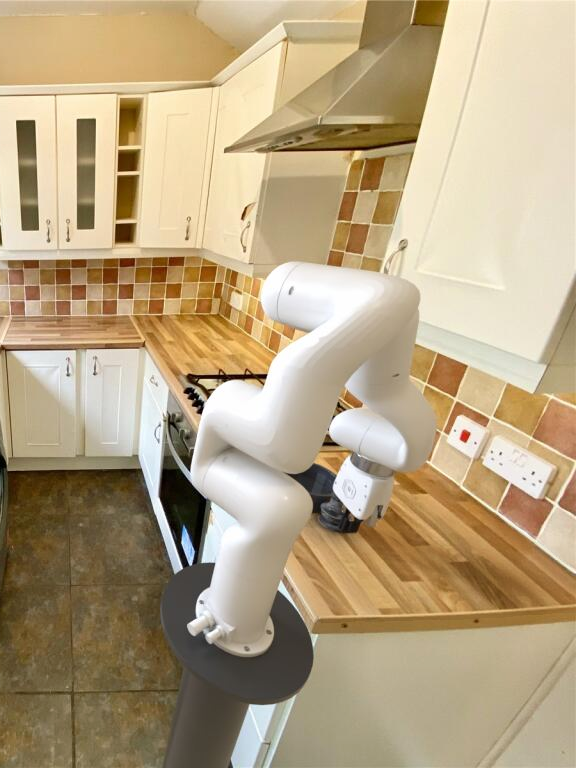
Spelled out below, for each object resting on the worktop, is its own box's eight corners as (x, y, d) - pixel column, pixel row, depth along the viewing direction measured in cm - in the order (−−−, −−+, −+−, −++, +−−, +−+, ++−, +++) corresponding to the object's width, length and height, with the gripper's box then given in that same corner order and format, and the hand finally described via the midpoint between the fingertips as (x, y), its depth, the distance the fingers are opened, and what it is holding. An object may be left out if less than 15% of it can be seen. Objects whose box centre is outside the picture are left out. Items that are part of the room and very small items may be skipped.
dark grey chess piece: (341, 516, 96) (355, 473, 91) (350, 534, 91) (366, 489, 86) (313, 512, 97) (326, 469, 93) (321, 529, 92) (335, 485, 87)
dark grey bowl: (314, 520, 95) (320, 504, 93) (260, 485, 106) (264, 469, 104) (349, 499, 101) (355, 483, 99) (294, 468, 113) (298, 453, 110)
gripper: (333, 440, 88) (311, 506, 96) (380, 486, 74) (350, 558, 82) (368, 440, 88) (344, 506, 96) (422, 486, 74) (388, 558, 82)
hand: (346, 530), depth 89 cm, fingers closed
